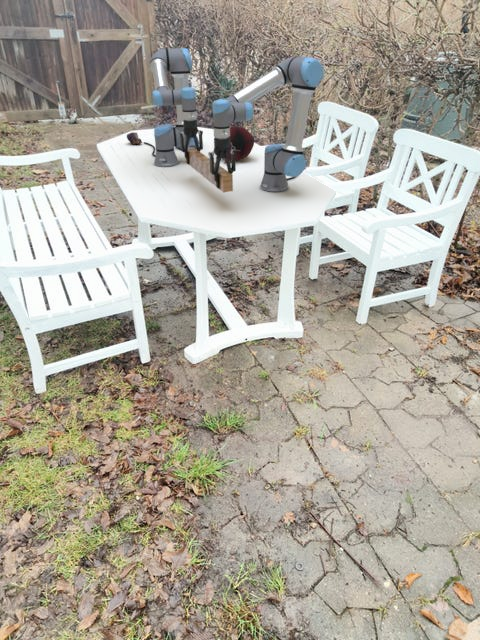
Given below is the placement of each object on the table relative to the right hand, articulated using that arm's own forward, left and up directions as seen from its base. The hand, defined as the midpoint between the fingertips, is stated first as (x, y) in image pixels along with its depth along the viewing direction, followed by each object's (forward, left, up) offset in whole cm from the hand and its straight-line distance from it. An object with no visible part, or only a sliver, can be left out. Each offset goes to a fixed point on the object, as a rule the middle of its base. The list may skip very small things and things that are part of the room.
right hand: (223, 186), depth 221 cm
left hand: (-24, -41, 0) cm, 47 cm away
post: (-12, -20, -1) cm, 24 cm away
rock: (-66, -138, -11) cm, 153 cm away
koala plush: (-81, -98, -11) cm, 128 cm away
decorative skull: (-77, -50, -11) cm, 93 cm away
